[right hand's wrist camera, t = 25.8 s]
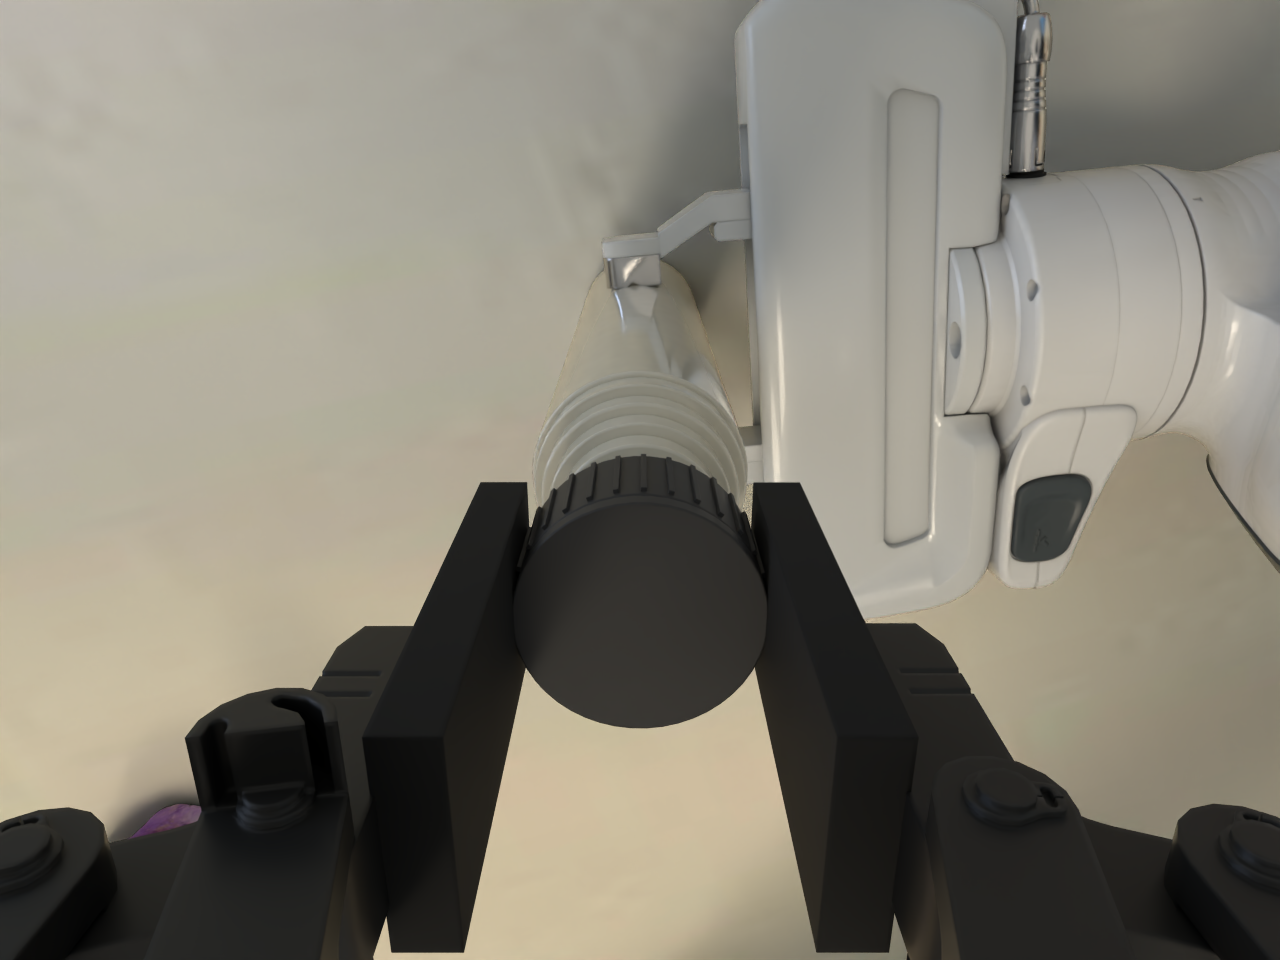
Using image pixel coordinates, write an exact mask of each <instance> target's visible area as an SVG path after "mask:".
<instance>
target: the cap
mask: <svg viewBox="0 0 1280 960" xmlns="http://www.w3.org/2000/svg"><path fill="white" fill-rule="evenodd" d="M516 571H517V572H519V576H518V579H517V583H516V587H515V590H514V594H513V616H514V633H515V643H516V646H517V649H518V652H519V655H520V657H521V659H522V661H523V663H524V664H525V666H526V668H527V670H528V671H529V673H530V674H531V675H532V677H533V678H534V680H535V681H536V682H537V683H538V684H539V685H540V686H541V688H542V689H543V690H544V691H545V692H546V693H547V694H549V695H550V696H551V697H552V698H553V699H555V700H556V701H557V702H558V703H560V704H561V705H563V706H564V707H566V708H568V709H569V710H571V711H573V712H575V713H577V714H579V715H581V716H583V717H585V718H588V719H591V720H594V721H596V722H599V723H603V724H608V725H612V726H618V727H626V728H654V727H663V726H668V725H673V724H678V723H681V722H684V721H687V720H690V719H693V718H695V717H697V716H699V715H702V714H704V713H706V712H708V711H710V710H711V709H713V708H714V707H716V706H718V705H719V704H721V703H722V702H723V701H725V700H726V699H727V698H728V697H730V696H731V695H732V694H733V693H734V692H735V691H736V690H737V689H738V688H739V687H740V686H741V685H742V684H743V683H744V681H745V680H746V679H747V677H748V676H749V675H750V674H751V672H752V671H753V669H754V667H755V665H756V663H757V662H758V660H759V658H760V656H761V653H762V650H763V648H764V645H765V639H766V624H767V606H768V597H767V592H766V588H765V584H764V580H763V578H765V571H764V568H763V564H762V561H761V558H760V554H759V551H758V547H757V544H756V540H755V537H754V533H752V531H751V528H750V524H749V521H748V517H747V514H746V512H745V511H744V512H741V511H740V509H739V507H738V505H737V504H736V502H735V498H734V495H733V494H732V493H729V494H728V493H727V492H726V491H725V490H724V489H723V488H722V487H721V486H720V485H719V484H718V483H717V479H716V478H714V477H712V478H710V477H708V476H707V475H705V474H704V473H702V472H700V471H698V470H697V469H696V467H695V466H694V465H692V464H691V465H690V466H688V465H685V464H683V463H680V462H677V461H673V460H672V458H671V457H666V458H659V457H652V456H646V454H641V456H630V457H621V456H615V459H611V460H607V461H603V462H601V463H598V464H597V463H596V462H594V463H591V466H590V467H588V468H586V469H584V470H582V471H580V472H578V473H577V474H574V473H572V474H570V475H569V479H568V480H567V481H565V482H564V483H563V484H562V485H561V486H560V487H558V488H557V489H555V488H553V489H552V490H551V492H550V496H549V498H548V500H547V501H546V502H545V503H544V505H543V506H542V507H540V506H539V507H538V508H537V510H536V513H535V517H534V521H533V524H532V528H531V527H528V529H527V533H526V536H525V540H524V543H523V546H522V550H521V553H520V557H519V560H518V564H517V567H516Z"/></svg>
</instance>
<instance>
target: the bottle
mask: <svg viewBox="0 0 1280 960" xmlns="http://www.w3.org/2000/svg"><path fill="white" fill-rule="evenodd" d="M660 269H661V285H652V286H639V285H637V284H636V283H634V282H633V283H632V284H631V285H630V286H628V287H625V288H620V289H609V288H607V285H606V277H605V270H603V271H602V272H601V273H600V274H599V275H598V277H597V278H596V279H595V281H594V282H593V284H592V285H591V287H590V289H589V292H588V295H587V298H586V301H585V304H584V306H583V309H582V312H581V315H580V318H579V321H578V324H577V327H576V330H575V333H574V336H573V339H572V342H571V345H570V348H569V350H568V353H567V356H566V359H565V362H564V365H563V368H562V371H561V374H560V377H559V380H558V383H557V386H556V389H555V392H554V394H553V397H552V400H551V403H550V406H549V409H548V412H547V415H546V418H545V421H544V424H543V427H542V430H541V433H540V436H539V438H538V441H537V444H536V448H535V453H534V458H533V472H532V474H533V485H534V491H535V499H536V503H537V508H538V507H539V506H540V507H542V506H543V505H544V503H545V502H546V501H547V500H548V498H549V496H550V492H551V490H552V489H553V488H555V489H557V488H558V487H560V486H561V485H562V484H563V483H564V482H565V481H567V480H568V479H569V475H570V474H572V473H574V474H577V473H578V472H580V471H582V470H584V469H586V468H588V467H590V466H591V463H594V462H596V463H597V464H598V463H601V462H603V461H607V460H611V459H615V456H621V457H630V456H641V454H646V456H652V457H659V458H666V457H671V458H672V460H673V461H677V462H680V463H683V464H685V465H688V466H690V465H691V464H692V465H694V466H695V467H696V469H697V470H698V471H700V472H702V473H704V474H705V475H707V476H708V477H710V478H712V477H714V478H716V479H717V483H718V484H719V485H720V486H721V487H722V488H723V489H724V490H725V491H726V492H727V493H728V494H729V493H732V494H733V495H734V498H735V502H736V504H737V505H738V507H739V509H740V511H741V512H742V509H743V505H744V501H745V494H746V487H747V480H748V463H747V456H746V450H745V447H744V443H743V440H742V437H741V434H740V431H739V428H738V425H737V422H736V419H735V416H734V413H733V410H732V408H731V405H730V402H729V399H728V396H727V393H726V390H725V387H724V384H723V381H722V378H721V375H720V373H719V370H718V367H717V364H716V361H715V358H714V355H713V352H712V349H711V346H710V343H709V340H708V337H707V335H706V332H705V329H704V326H703V323H702V320H701V317H700V314H699V311H698V308H697V305H696V302H695V300H694V297H693V294H692V291H691V289H690V287H689V285H688V283H687V282H686V280H685V279H684V278H683V276H682V275H681V274H680V273H679V272H678V271H677V270H676V269H675V268H673V267H672V266H670V265H669V264H667V263H665V262H663V261H661V260H660Z"/></svg>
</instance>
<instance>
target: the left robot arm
mask: <svg viewBox="0 0 1280 960" xmlns="http://www.w3.org/2000/svg"><path fill="white" fill-rule="evenodd" d="M1021 1H1022V4H1023V8H1024V14H1025V15H1022V16H1018V17H1017V14H1018V0H760V1H759V2H758V3H757V4H756V5H755V6H754V7H753V8H752V9H751V10H750V11H749V13H748V14H747V15H746V17H745V18H744V19H743V21H742V23H741V24H740V26H739V27H738V29H737V31H736V34H735V40H734V46H735V69H736V89H737V110H738V130H739V150H740V171H741V189H732V190H722V191H713V192H706V193H704V194H703V195H702V196H700V197H699V198H697V199H696V200H695V201H693V202H692V203H691V204H689V205H688V206H687V207H685V208H684V209H683V210H681V211H680V212H678V213H677V214H676V215H674V216H673V217H672V218H670V219H669V220H668V221H666V222H665V223H663V224H662V225H661V226H659V227H658V228H657V232H652V233H642V234H631V235H621V236H613V237H608V238H604V239H603V240H602V251H603V261H604V269H605V277H606V285H607V288H609V289H620V288H625V287H628V286H630V285H631V284H632V283H633V282H634V283H636V284H637V285H639V286H652V285H661V269H660V257H661V259H662V258H663V257H664V256H666V255H667V254H669V253H670V252H671V251H673V250H674V249H676V248H677V247H679V246H680V245H681V244H683V243H684V242H686V241H687V240H688V239H690V238H691V237H693V236H694V235H696V234H697V233H698V232H700V231H701V230H703V229H704V228H705V227H707V226H708V225H709V230H710V233H711V234H712V236H713V237H714V238H715V239H716V240H717V241H718V242H721V241H733V240H744V253H745V273H746V294H747V314H748V335H749V355H750V376H751V396H752V416H753V426H747V427H738V428H739V431H740V434H741V437H742V440H743V443H744V447H745V450H746V456H747V463H748V480H747V484H753V483H754V482H800V484H801V486H802V488H803V490H804V492H805V494H806V496H807V499H808V501H809V503H810V505H811V507H812V509H813V511H814V514H815V516H816V518H817V520H818V522H819V524H820V526H821V529H822V531H823V533H824V535H825V537H826V539H827V542H828V544H829V546H830V548H831V550H832V552H833V554H834V557H835V559H836V561H837V563H838V565H839V567H840V569H841V572H842V574H843V576H844V578H845V580H846V582H847V584H848V587H849V589H850V591H851V593H852V595H853V597H854V599H855V602H856V604H857V606H858V608H859V610H860V612H861V614H862V617H863V619H864V620H866V619H874V618H881V617H887V616H894V615H900V614H906V613H911V612H916V611H921V610H926V609H930V608H934V607H938V606H941V605H944V604H947V603H950V602H952V601H954V600H956V599H958V598H960V597H962V596H963V595H965V594H966V593H968V592H969V591H970V590H971V589H973V588H974V587H975V586H976V585H977V584H978V582H979V581H980V580H981V578H982V577H983V575H984V574H985V572H986V569H988V570H989V571H990V572H991V573H992V574H993V575H994V576H995V577H996V578H997V579H998V580H1000V581H1001V582H1002V583H1003V584H1004V585H1006V586H1008V587H1010V588H1015V589H1033V588H1041V587H1045V586H1049V585H1051V584H1053V583H1054V582H1056V581H1057V580H1058V579H1059V578H1060V577H1061V575H1062V574H1063V573H1064V571H1065V569H1066V568H1067V565H1068V563H1069V561H1070V559H1071V557H1072V555H1073V552H1074V550H1075V548H1076V545H1077V543H1078V541H1079V539H1080V536H1081V534H1082V532H1083V530H1084V527H1085V525H1086V523H1087V521H1088V519H1089V517H1090V514H1091V512H1092V510H1093V508H1094V506H1095V504H1096V502H1097V500H1098V498H1099V496H1100V494H1101V492H1102V490H1103V488H1104V486H1105V484H1106V482H1107V480H1108V478H1109V477H1110V475H1111V473H1112V471H1113V469H1114V467H1115V466H1116V464H1117V462H1118V461H1119V459H1120V457H1121V456H1122V454H1123V452H1124V451H1125V449H1126V447H1127V446H1128V444H1129V442H1130V441H1132V440H1140V439H1144V438H1147V437H1151V436H1156V435H1160V434H1165V433H1180V434H1184V435H1187V436H1190V437H1192V438H1194V439H1196V440H1197V441H1199V442H1200V443H1202V444H1203V445H1204V447H1205V448H1206V449H1207V451H1208V455H1207V458H1206V463H1207V467H1208V471H1209V473H1210V475H1211V477H1212V479H1213V481H1214V483H1215V484H1216V486H1217V488H1218V489H1219V491H1220V492H1221V494H1222V495H1223V497H1224V498H1225V500H1226V501H1227V503H1228V504H1229V506H1230V507H1231V509H1232V511H1233V512H1234V514H1235V515H1236V517H1237V518H1238V519H1239V521H1240V522H1241V524H1242V525H1243V526H1244V528H1245V529H1246V530H1247V532H1248V533H1249V535H1250V536H1251V537H1252V539H1253V540H1254V541H1255V543H1256V544H1257V545H1258V547H1259V548H1260V549H1261V551H1262V552H1263V553H1264V554H1265V556H1266V557H1267V558H1268V560H1269V561H1270V562H1271V564H1272V565H1273V566H1274V567H1275V568H1276V570H1277V571H1278V572H1279V573H1280V151H1273V152H1267V153H1263V154H1259V155H1256V156H1252V157H1249V158H1246V159H1244V160H1241V161H1239V162H1236V163H1234V164H1231V165H1229V166H1226V167H1223V168H1219V169H1215V170H1208V171H1189V170H1182V169H1177V168H1173V167H1169V166H1164V165H1157V164H1135V165H1128V166H1117V167H1107V168H1097V169H1087V170H1077V171H1066V172H1052V173H1046V172H1044V159H1045V139H1046V123H1047V109H1045V107H1046V100H1045V97H1046V90H1044V88H1045V87H1046V80H1045V78H1046V71H1047V62H1048V61H1050V56H1051V49H1052V23H1051V17H1050V14H1049V13H1047V12H1042V13H1040V10H1039V3H1038V0H1021ZM1002 175H1006V178H1002Z"/></svg>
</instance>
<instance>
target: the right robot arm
mask: <svg viewBox="0 0 1280 960" xmlns="http://www.w3.org/2000/svg"><path fill="white" fill-rule="evenodd" d="M528 527H529V513H528V493H527V482H481V483H480V485H479V487H478V489H477V491H476V493H475V495H474V498H473V500H472V502H471V504H470V506H469V508H468V510H467V513H466V515H465V517H464V519H463V521H462V523H461V525H460V528H459V530H458V532H457V534H456V536H455V538H454V540H453V543H452V545H451V547H450V549H449V551H448V553H447V555H446V558H445V560H444V562H443V564H442V566H441V568H440V570H439V573H438V575H437V577H436V579H435V581H434V583H433V585H432V588H431V590H430V592H429V594H428V596H427V598H426V600H425V603H424V605H423V607H422V609H421V611H420V613H419V615H418V618H417V620H416V622H415V624H414V626H365V627H363V628H362V629H361V630H359V631H358V632H357V633H355V634H354V635H353V636H351V637H350V638H349V639H347V640H346V641H345V642H343V643H342V644H341V645H339V646H338V647H337V648H336V650H335V651H334V653H333V655H332V656H331V658H330V660H329V661H328V663H327V665H326V666H325V668H324V670H323V674H322V676H319V678H318V680H317V681H316V683H315V685H314V687H313V688H312V690H307V689H304V688H274V689H269V690H264V691H259V692H254V693H250V694H246V695H244V696H241V697H239V698H237V699H234V700H232V701H229V702H227V703H224V704H222V705H220V706H219V707H217V708H216V709H214V710H213V711H211V712H210V713H208V714H207V715H206V716H204V717H203V718H201V719H200V720H198V722H197V723H196V724H195V726H194V727H193V728H192V729H191V731H190V732H189V733H188V735H187V736H186V737H185V741H186V745H187V749H188V754H189V758H190V763H191V767H192V772H193V776H194V780H195V785H196V789H197V794H198V798H199V803H200V807H201V813H200V816H199V818H198V821H196V822H193V823H190V824H187V825H183V826H180V827H177V828H173V829H170V830H165V831H161V832H157V833H152V834H148V835H143V836H139V837H134V838H130V839H126V840H121V841H117V842H112V843H109V842H108V838H107V835H106V831H105V827H104V824H103V823H102V822H101V821H100V820H99V819H98V818H96V817H95V816H94V815H93V814H92V813H91V812H87V811H83V810H78V809H73V808H69V807H68V808H57V809H46V810H38V811H35V812H31V813H28V814H24V815H22V816H18V817H15V818H12V819H8V820H5V821H3V822H1V823H0V960H374V959H373V955H374V952H375V949H376V946H377V943H378V940H379V937H380V934H381V931H382V928H383V925H384V922H385V919H386V916H387V923H388V931H389V938H390V945H391V952H392V953H464V950H465V945H466V940H467V936H468V931H469V927H470V922H471V917H472V913H473V908H474V904H475V899H476V894H477V890H478V885H479V880H480V876H481V871H482V867H483V862H484V857H485V853H486V848H487V844H488V839H489V834H490V830H491V825H492V820H493V816H494V811H495V807H496V802H497V797H498V793H499V788H500V784H501V779H502V774H503V770H504V765H505V760H506V756H507V751H508V747H509V742H510V737H511V733H512V728H513V724H514V719H515V714H516V710H517V705H518V701H519V696H520V691H521V687H522V682H523V677H524V673H525V668H526V666H525V664H524V663H523V661H522V659H521V657H520V655H519V652H518V649H517V646H516V643H515V633H514V616H513V594H514V590H515V587H516V583H517V579H518V576H519V572H517V571H516V567H517V564H518V560H519V557H520V553H521V550H522V546H523V543H524V540H525V536H526V533H527V529H528ZM751 531H752V533H754V537H755V540H756V544H757V547H758V551H759V554H760V558H761V561H762V564H763V568H764V571H765V578H763V580H764V584H765V588H766V592H767V597H768V606H767V624H766V639H765V645H764V648H763V650H762V653H761V656H760V658H759V660H758V662H757V663H756V665H755V671H756V675H757V680H758V685H759V689H760V694H761V698H762V703H763V708H764V712H765V717H766V721H767V726H768V731H769V735H770V740H771V745H772V749H773V754H774V758H775V763H776V768H777V772H778V777H779V781H780V786H781V791H782V795H783V800H784V804H785V809H786V814H787V818H788V823H789V828H790V832H791V837H792V841H793V846H794V851H795V855H796V860H797V864H798V869H799V874H800V878H801V883H802V888H803V892H804V897H805V901H806V906H807V911H808V915H809V920H810V924H811V929H812V934H813V938H814V943H815V947H816V952H817V953H889V948H890V941H891V934H892V927H893V920H894V913H895V916H896V919H897V922H898V925H899V928H900V931H901V934H902V937H903V940H904V943H905V946H906V949H907V952H908V953H907V959H906V960H1280V818H1278V817H1276V816H1272V815H1269V814H1266V813H1263V812H1259V811H1256V810H1253V809H1249V808H1246V807H1243V806H1232V805H1221V804H1210V805H1205V806H1200V807H1196V808H1191V809H1190V810H1189V811H1188V812H1187V813H1185V814H1184V815H1183V816H1182V817H1181V818H1180V819H1179V820H1178V822H1177V826H1176V830H1175V833H1174V837H1173V840H1171V839H1167V838H1162V837H1158V836H1154V835H1149V834H1145V833H1140V832H1136V831H1131V830H1127V829H1122V828H1118V827H1113V826H1110V825H1106V824H1103V823H1099V822H1096V821H1093V820H1089V819H1087V818H1084V817H1082V816H1081V814H1080V812H1079V810H1078V808H1077V807H1076V805H1075V804H1074V802H1073V801H1072V799H1071V798H1070V796H1069V795H1068V793H1067V792H1066V791H1065V790H1064V789H1063V788H1062V787H1060V786H1059V785H1058V784H1057V783H1055V782H1054V781H1053V780H1051V779H1050V778H1049V777H1048V776H1046V775H1045V774H1043V773H1041V772H1039V771H1037V770H1035V769H1032V768H1030V767H1028V766H1026V765H1024V764H1022V763H1019V762H1016V761H1014V760H1013V758H1012V757H1011V755H1010V753H1009V752H1008V750H1007V748H1006V747H1005V745H1004V743H1003V742H1002V740H1001V738H1000V737H999V735H998V733H997V732H996V730H995V728H994V727H993V725H992V723H991V722H990V720H989V718H988V717H987V715H986V713H985V712H984V710H983V708H982V707H981V705H980V704H979V702H978V700H977V699H976V697H975V695H974V694H971V689H970V687H969V685H968V684H967V682H966V680H965V679H964V677H963V675H962V674H961V673H959V672H958V667H957V665H956V664H955V662H954V660H953V659H952V657H951V655H950V654H949V652H948V650H947V649H946V647H945V645H944V644H943V643H941V642H940V641H939V640H937V639H936V638H935V637H933V636H932V635H931V634H929V633H928V632H927V631H925V630H924V629H923V628H921V627H920V626H918V625H917V624H916V623H865V621H864V619H863V617H862V614H861V612H860V610H859V608H858V606H857V604H856V602H855V599H854V597H853V595H852V593H851V591H850V589H849V587H848V584H847V582H846V580H845V578H844V576H843V574H842V572H841V569H840V567H839V565H838V563H837V561H836V559H835V557H834V554H833V552H832V550H831V548H830V546H829V544H828V542H827V539H826V537H825V535H824V533H823V531H822V529H821V526H820V524H819V522H818V520H817V518H816V516H815V514H814V511H813V509H812V507H811V505H810V503H809V501H808V499H807V496H806V494H805V492H804V490H803V488H802V486H801V484H800V482H754V483H753V503H752V523H751Z"/></svg>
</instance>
